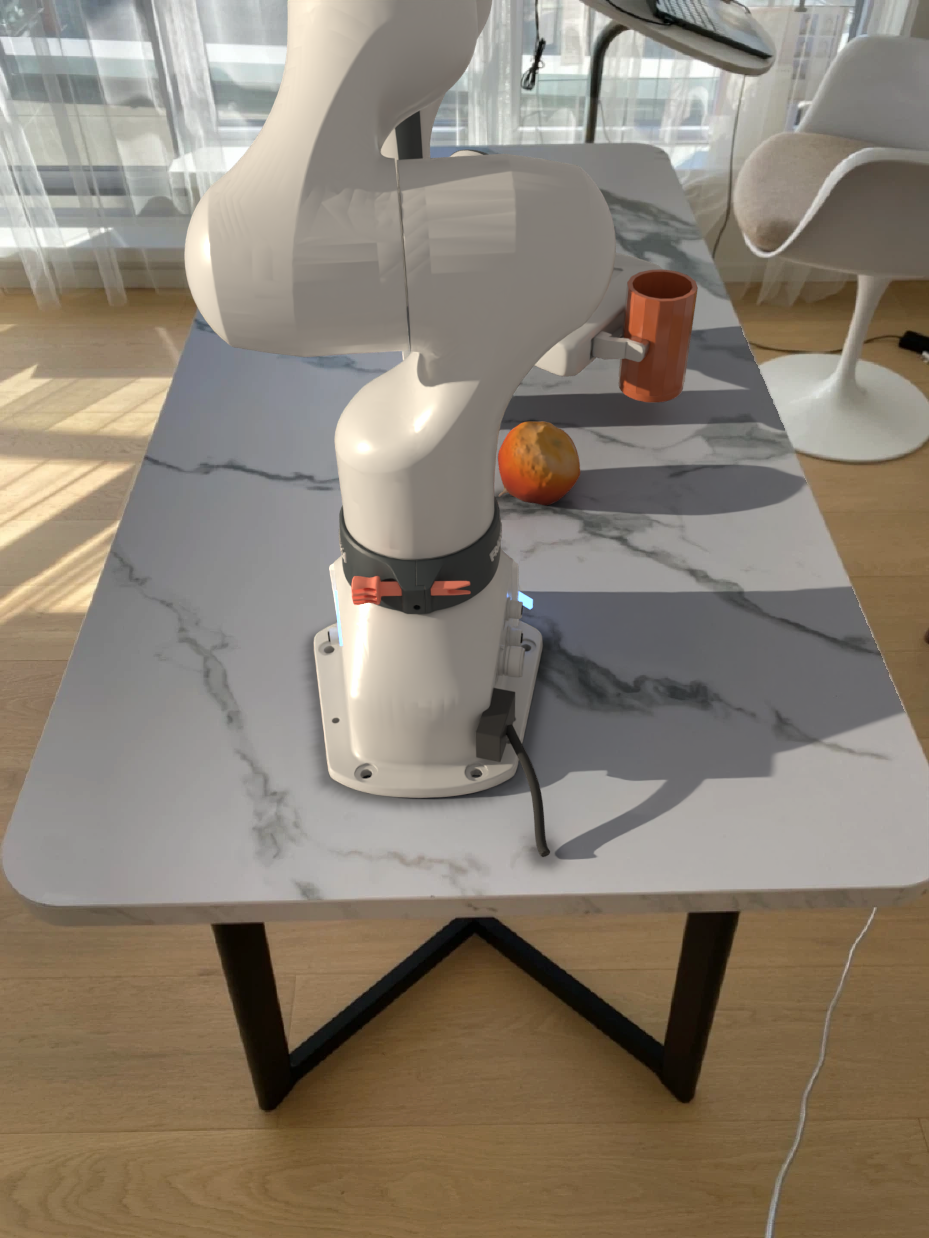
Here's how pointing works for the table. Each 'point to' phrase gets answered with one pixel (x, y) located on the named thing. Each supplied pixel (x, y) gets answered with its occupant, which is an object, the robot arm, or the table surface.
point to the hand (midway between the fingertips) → (665, 334)
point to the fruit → (538, 463)
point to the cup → (658, 333)
